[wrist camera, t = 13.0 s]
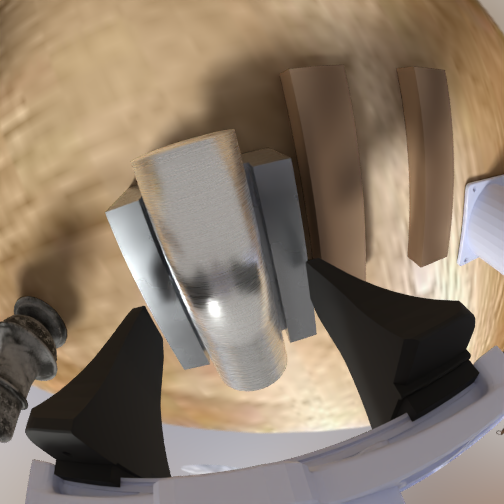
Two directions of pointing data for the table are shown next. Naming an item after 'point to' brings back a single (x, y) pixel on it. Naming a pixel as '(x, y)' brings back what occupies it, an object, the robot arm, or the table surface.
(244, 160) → the v block
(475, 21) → the table surface
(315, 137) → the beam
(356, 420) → the table surface
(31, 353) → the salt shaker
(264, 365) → the axle
